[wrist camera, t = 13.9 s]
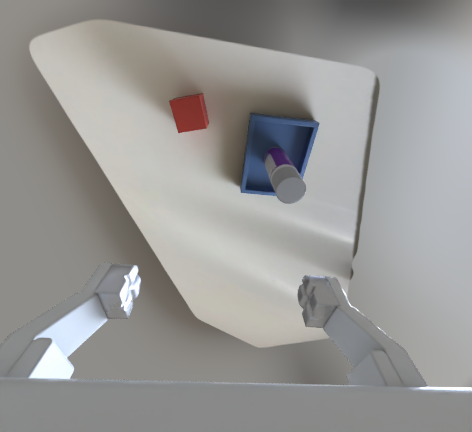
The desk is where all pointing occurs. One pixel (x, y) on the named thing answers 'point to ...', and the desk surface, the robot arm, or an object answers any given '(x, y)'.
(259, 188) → the tray
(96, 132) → the desk surface
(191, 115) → the red block
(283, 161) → the container
